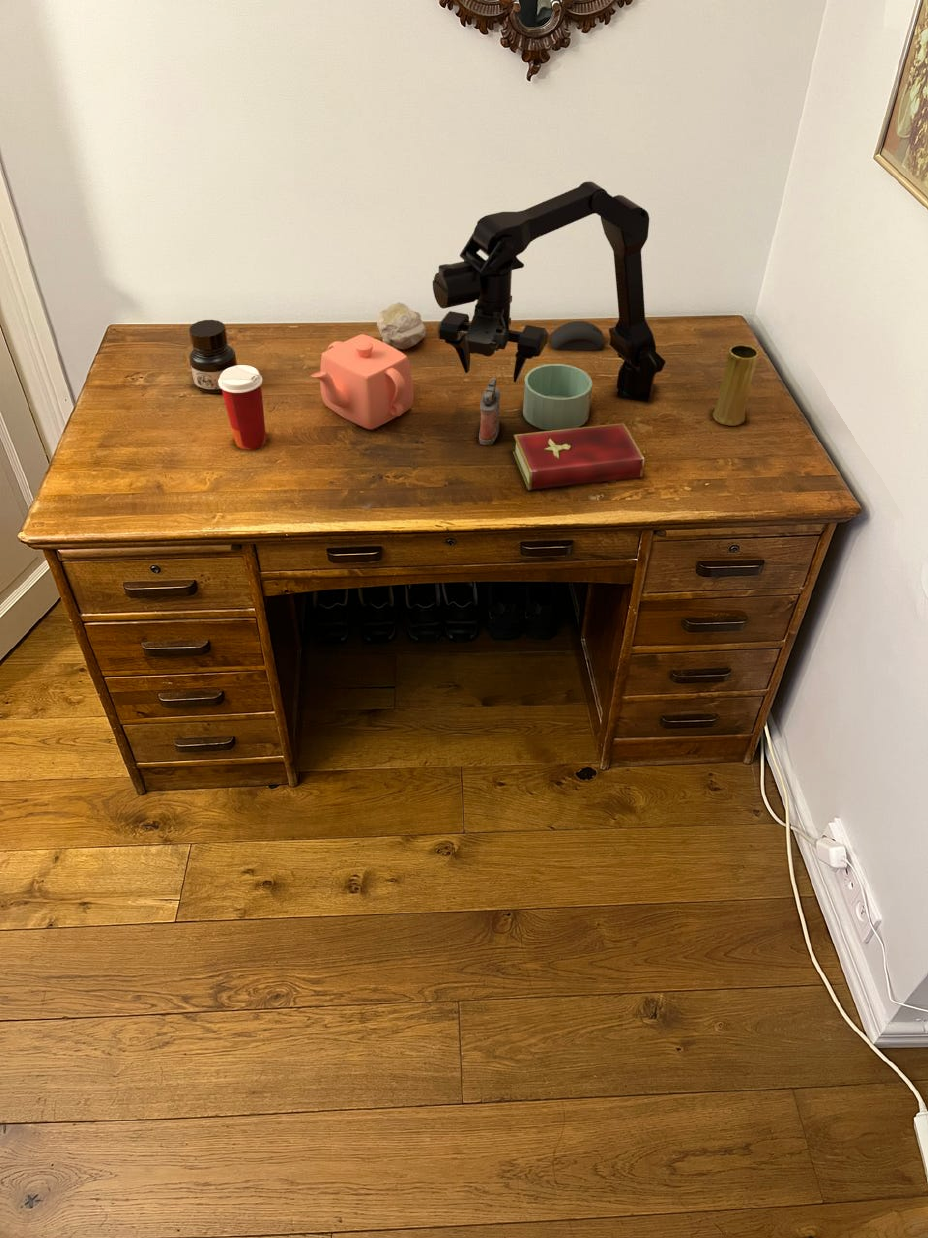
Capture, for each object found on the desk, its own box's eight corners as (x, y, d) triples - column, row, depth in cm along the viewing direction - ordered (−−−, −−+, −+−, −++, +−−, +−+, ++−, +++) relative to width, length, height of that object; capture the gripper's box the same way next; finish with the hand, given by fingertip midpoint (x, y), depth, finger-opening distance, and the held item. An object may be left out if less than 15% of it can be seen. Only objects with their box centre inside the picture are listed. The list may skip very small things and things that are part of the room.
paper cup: (278, 434, 185) (269, 367, 175) (259, 456, 180) (248, 389, 170) (241, 426, 187) (230, 360, 177) (221, 448, 181) (208, 381, 172)
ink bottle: (184, 388, 196) (172, 333, 188) (208, 367, 202) (198, 313, 193) (226, 398, 193) (216, 343, 185) (249, 377, 199) (241, 322, 191)
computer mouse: (604, 350, 208) (606, 333, 206) (551, 349, 208) (552, 332, 206) (602, 335, 213) (604, 318, 210) (550, 335, 213) (551, 317, 210)
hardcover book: (642, 478, 176) (645, 458, 173) (528, 491, 173) (530, 471, 170) (621, 440, 184) (624, 421, 182) (512, 452, 181) (513, 433, 178)
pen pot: (595, 402, 194) (599, 370, 189) (579, 436, 185) (582, 404, 180) (533, 390, 197) (535, 358, 192) (514, 423, 188) (516, 391, 183)
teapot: (284, 415, 190) (275, 350, 180) (358, 376, 200) (353, 313, 190) (354, 456, 180) (349, 390, 170) (428, 414, 190) (427, 349, 180)
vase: (747, 413, 192) (764, 347, 182) (740, 429, 188) (756, 362, 178) (717, 406, 193) (731, 340, 183) (709, 421, 189) (723, 355, 179)
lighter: (494, 445, 183) (496, 399, 176) (476, 443, 183) (477, 396, 176) (501, 422, 188) (503, 376, 181) (484, 420, 189) (485, 373, 182)
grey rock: (432, 332, 214) (387, 332, 215) (428, 294, 208) (382, 295, 210) (422, 356, 204) (375, 356, 206) (418, 317, 199) (370, 317, 201)
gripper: (425, 306, 163) (427, 389, 174) (533, 326, 159) (527, 409, 170) (448, 278, 171) (448, 359, 182) (551, 296, 167) (545, 377, 177)
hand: (491, 376), depth 178 cm, fingers open, 9 cm apart
